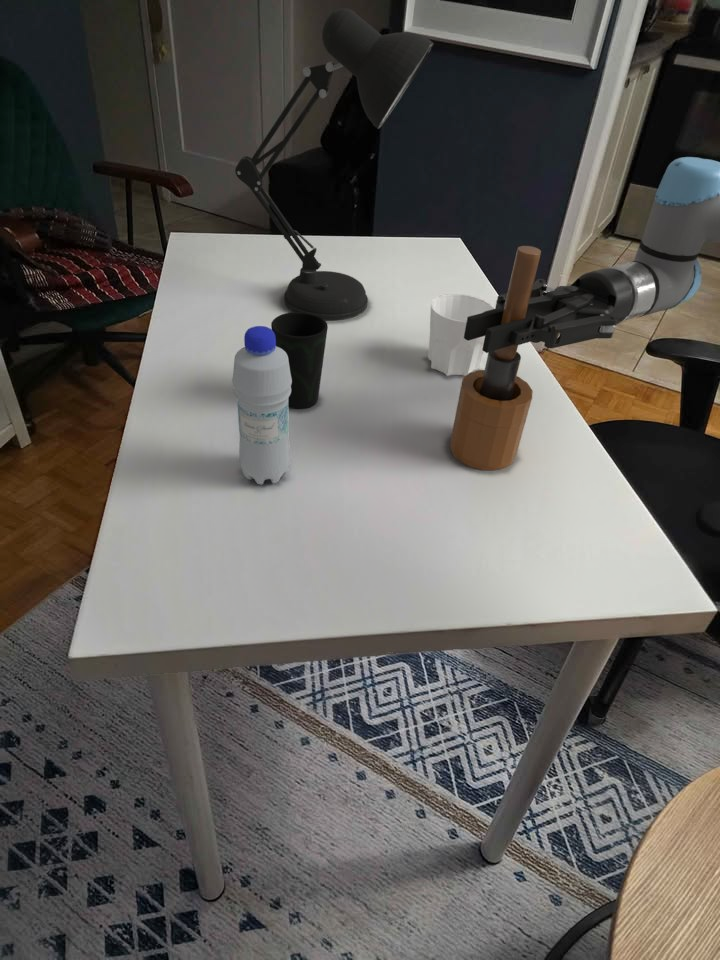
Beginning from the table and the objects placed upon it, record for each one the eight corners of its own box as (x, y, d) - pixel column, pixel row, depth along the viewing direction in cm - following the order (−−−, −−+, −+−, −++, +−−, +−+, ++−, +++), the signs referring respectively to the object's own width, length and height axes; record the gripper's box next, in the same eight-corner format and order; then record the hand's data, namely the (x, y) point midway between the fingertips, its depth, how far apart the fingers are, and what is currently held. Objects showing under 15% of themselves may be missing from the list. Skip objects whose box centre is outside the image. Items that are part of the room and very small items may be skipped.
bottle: (231, 485, 80) (219, 339, 67) (247, 453, 85) (239, 311, 72) (284, 494, 79) (282, 348, 66) (297, 461, 84) (298, 319, 72)
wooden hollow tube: (526, 448, 90) (543, 386, 84) (496, 479, 84) (513, 415, 78) (469, 423, 94) (482, 362, 87) (437, 451, 88) (449, 388, 81)
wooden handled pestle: (514, 401, 84) (553, 250, 72) (500, 414, 82) (538, 259, 69) (487, 390, 86) (520, 240, 73) (472, 403, 84) (504, 249, 71)
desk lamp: (423, 318, 119) (465, 20, 90) (296, 345, 108) (298, 15, 79) (356, 269, 135) (374, 2, 106) (240, 288, 124) (224, -4, 95)
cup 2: (476, 349, 111) (487, 295, 105) (489, 380, 103) (501, 323, 97) (419, 348, 110) (426, 293, 104) (427, 378, 103) (436, 321, 96)
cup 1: (265, 406, 93) (262, 331, 86) (283, 381, 99) (283, 307, 92) (315, 417, 92) (317, 341, 85) (331, 390, 98) (334, 317, 90)
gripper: (648, 348, 83) (517, 395, 72) (558, 300, 92) (430, 335, 82) (670, 292, 78) (533, 334, 67) (572, 248, 88) (438, 278, 77)
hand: (477, 334), depth 74 cm, fingers closed on wooden handled pestle, 3 cm apart
